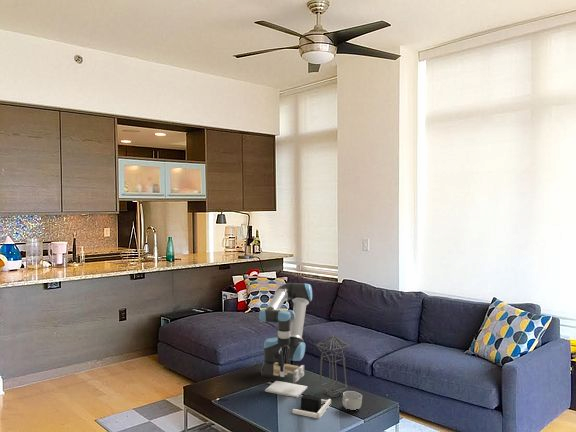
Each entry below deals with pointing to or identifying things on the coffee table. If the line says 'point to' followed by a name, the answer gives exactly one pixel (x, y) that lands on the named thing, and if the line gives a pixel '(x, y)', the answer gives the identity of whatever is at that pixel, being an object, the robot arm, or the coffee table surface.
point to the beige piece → (290, 371)
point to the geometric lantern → (332, 361)
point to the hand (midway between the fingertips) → (283, 375)
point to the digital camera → (310, 403)
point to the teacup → (352, 400)
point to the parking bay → (314, 415)
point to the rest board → (286, 389)
